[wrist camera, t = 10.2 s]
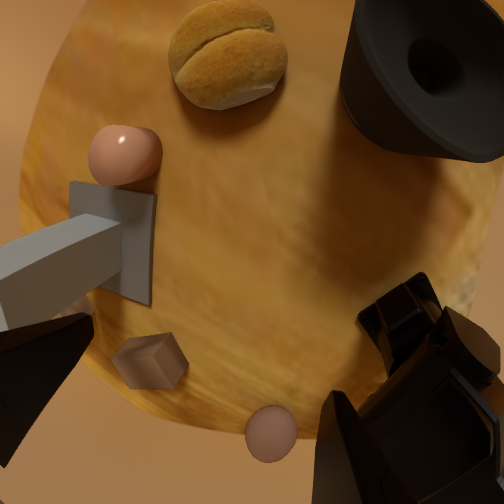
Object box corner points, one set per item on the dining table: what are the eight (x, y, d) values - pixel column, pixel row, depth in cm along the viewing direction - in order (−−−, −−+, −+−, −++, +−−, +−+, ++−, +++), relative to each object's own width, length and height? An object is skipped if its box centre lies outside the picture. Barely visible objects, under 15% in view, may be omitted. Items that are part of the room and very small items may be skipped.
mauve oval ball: (266, 426, 27) (255, 473, 21) (243, 400, 26) (227, 450, 20) (307, 417, 26) (302, 468, 19) (287, 389, 25) (278, 444, 18)
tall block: (121, 222, 22) (-5, 282, 10) (121, 270, 23) (14, 346, 11) (85, 213, 22) (-31, 260, 10) (86, 257, 24) (-16, 318, 12)
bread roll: (260, -2, 14) (250, -28, 11) (301, 88, 17) (299, 71, 13) (165, 37, 17) (141, 20, 13) (194, 125, 19) (170, 119, 15)
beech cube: (95, 311, 27) (70, 331, 23) (76, 318, 28) (53, 337, 24) (75, 275, 26) (48, 292, 22) (58, 286, 27) (33, 302, 23)
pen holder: (345, 24, 14) (364, -58, 5) (456, 70, 13) (530, 34, 4) (320, 134, 17) (334, 105, 8) (438, 178, 16) (525, 199, 7)
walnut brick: (171, 331, 25) (153, 355, 22) (189, 363, 26) (174, 389, 22) (129, 337, 27) (109, 358, 23) (146, 366, 28) (130, 388, 24)
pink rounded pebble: (173, 154, 20) (145, 155, 16) (138, 191, 21) (108, 199, 18) (142, 117, 19) (112, 112, 15) (111, 154, 21) (80, 157, 17)
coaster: (157, 194, 21) (153, 195, 20) (151, 302, 24) (148, 305, 24) (74, 180, 22) (69, 181, 22) (76, 273, 26) (72, 275, 25)
